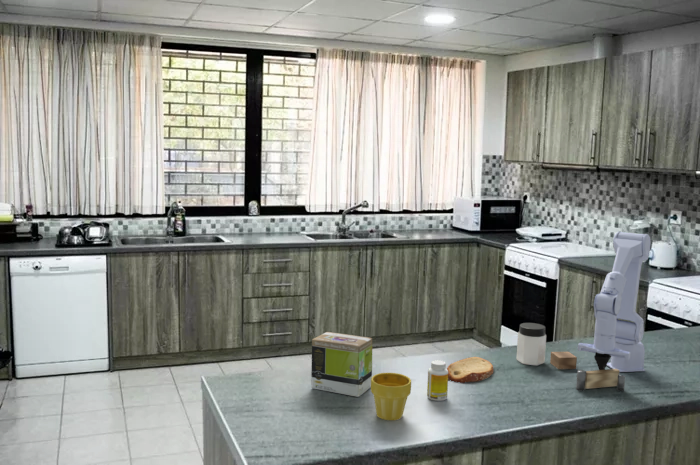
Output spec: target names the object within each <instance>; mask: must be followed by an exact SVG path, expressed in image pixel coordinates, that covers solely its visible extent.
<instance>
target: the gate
mask: <svg viewBox="0 0 700 465" xmlns="http://www.w3.org/2000/svg"><path fill="white" fill-rule="evenodd" d="M585 371H586V380H585V390H586V389H587V390H588V389H598V388H608V387H609V388H610V387H617V379H618V375H620V373H621V372H620V370H618V369H612V368H608V369H607V368H605V370H599V369H596V370H585Z"/></svg>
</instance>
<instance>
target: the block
mask: <svg viewBox="0 0 700 465" xmlns="http://www.w3.org/2000/svg"><path fill="white" fill-rule="evenodd" d="M577 359H578V358H577V356H575V355H574V354H573V353H571V352H570V351H551V352H550V361H549V362H550V364H551V366H554V367H555V368H556V369H557V370H577V362H578V361H577Z"/></svg>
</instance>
